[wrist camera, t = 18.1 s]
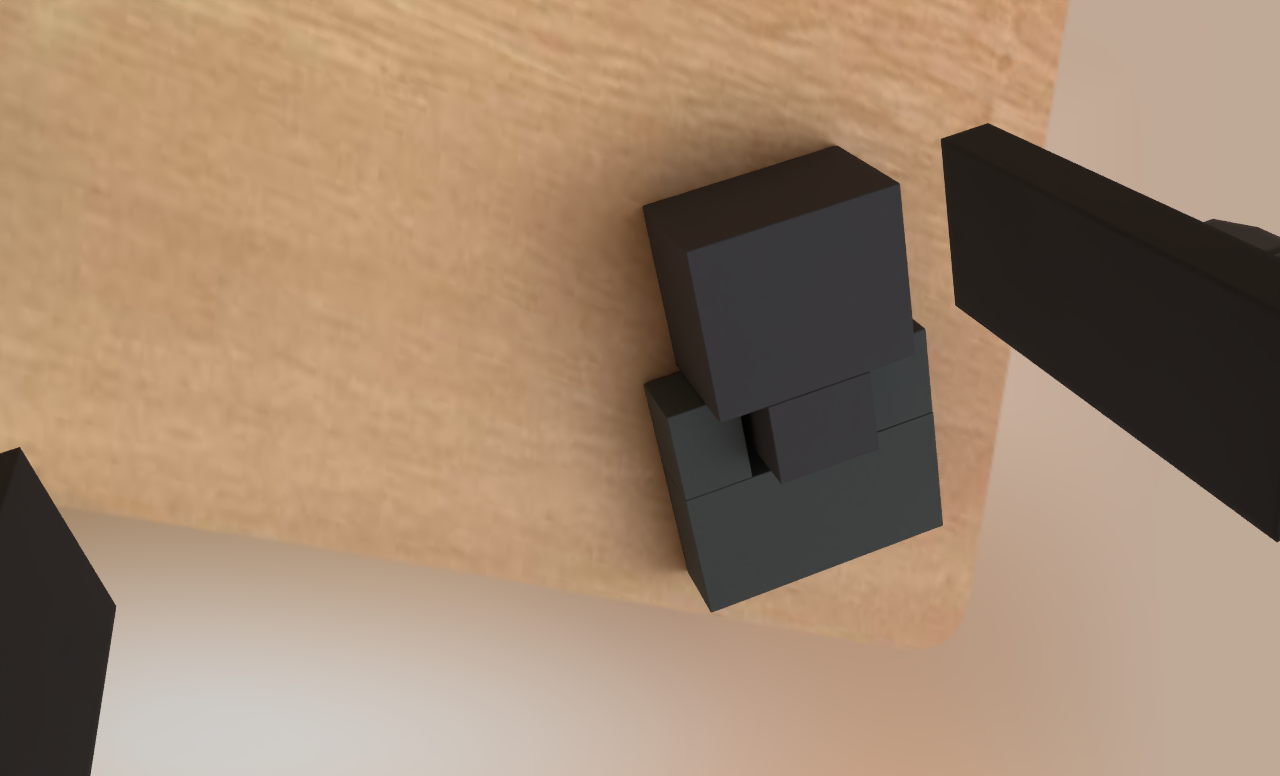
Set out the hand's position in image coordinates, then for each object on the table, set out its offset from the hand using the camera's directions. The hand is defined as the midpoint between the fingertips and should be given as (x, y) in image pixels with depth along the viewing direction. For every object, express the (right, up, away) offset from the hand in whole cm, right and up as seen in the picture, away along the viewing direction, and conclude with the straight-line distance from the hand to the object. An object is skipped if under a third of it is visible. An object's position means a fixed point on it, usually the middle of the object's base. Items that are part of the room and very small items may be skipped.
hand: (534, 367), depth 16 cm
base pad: (+8, -3, +34) cm, 35 cm away
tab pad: (+6, +3, +30) cm, 31 cm away
